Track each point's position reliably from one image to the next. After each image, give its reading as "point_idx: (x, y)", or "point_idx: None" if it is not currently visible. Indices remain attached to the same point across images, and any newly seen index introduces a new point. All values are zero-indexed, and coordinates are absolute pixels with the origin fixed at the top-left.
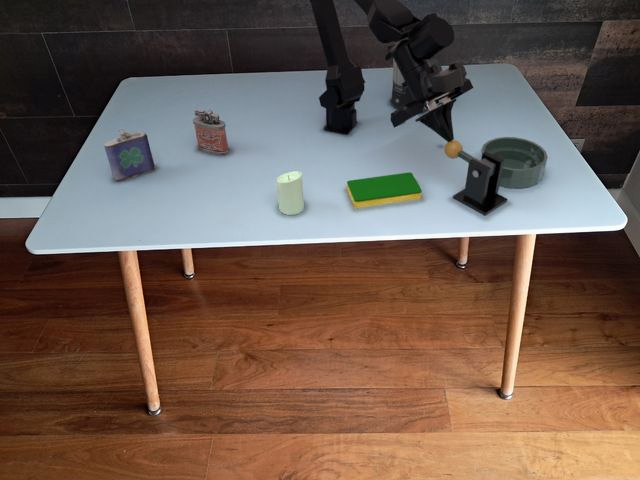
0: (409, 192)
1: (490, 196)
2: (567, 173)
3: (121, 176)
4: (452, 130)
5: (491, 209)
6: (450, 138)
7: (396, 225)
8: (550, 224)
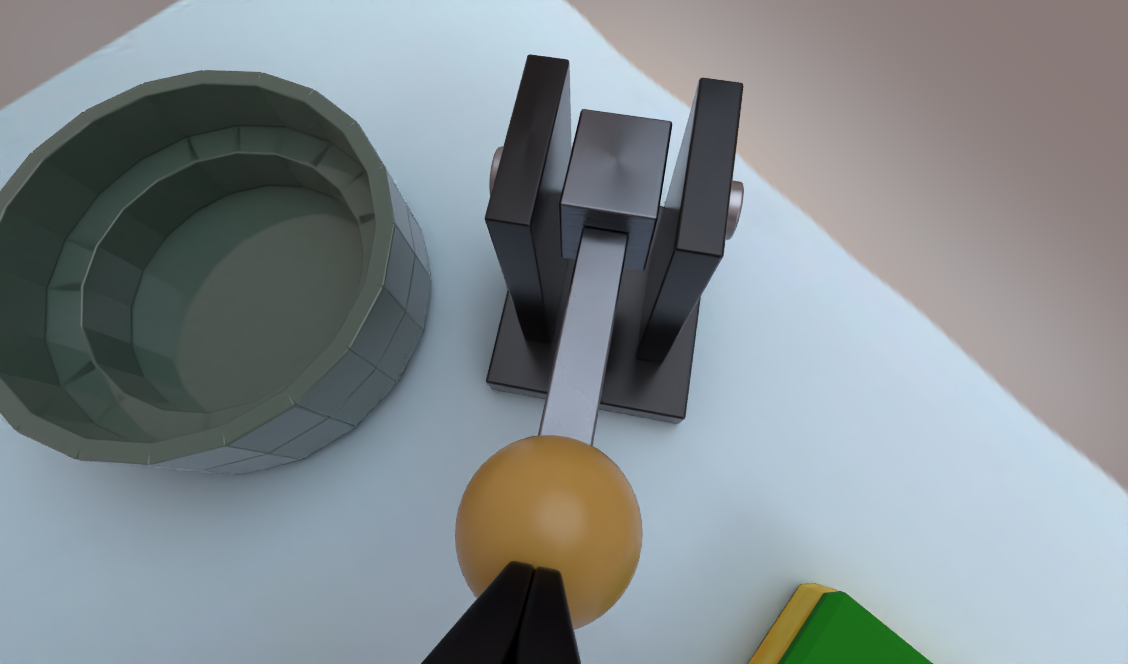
0: (916, 653)
1: None
2: None
3: None
4: (458, 634)
5: (662, 207)
6: (561, 588)
7: (1101, 562)
8: (563, 22)
